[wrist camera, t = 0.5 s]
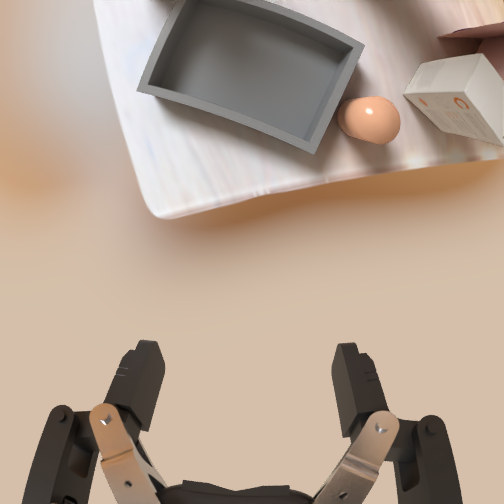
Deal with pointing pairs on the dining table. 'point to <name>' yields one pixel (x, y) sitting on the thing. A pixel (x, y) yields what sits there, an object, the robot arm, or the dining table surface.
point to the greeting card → (487, 43)
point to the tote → (253, 66)
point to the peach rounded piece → (369, 119)
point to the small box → (461, 96)
